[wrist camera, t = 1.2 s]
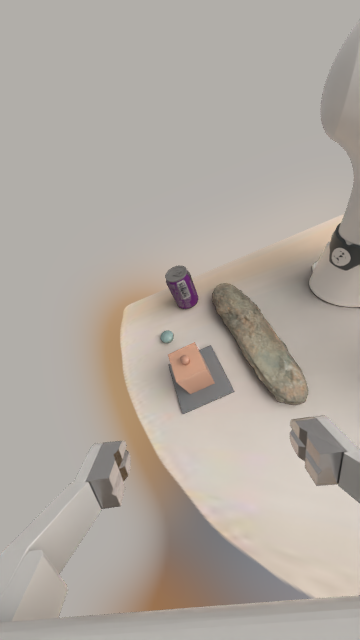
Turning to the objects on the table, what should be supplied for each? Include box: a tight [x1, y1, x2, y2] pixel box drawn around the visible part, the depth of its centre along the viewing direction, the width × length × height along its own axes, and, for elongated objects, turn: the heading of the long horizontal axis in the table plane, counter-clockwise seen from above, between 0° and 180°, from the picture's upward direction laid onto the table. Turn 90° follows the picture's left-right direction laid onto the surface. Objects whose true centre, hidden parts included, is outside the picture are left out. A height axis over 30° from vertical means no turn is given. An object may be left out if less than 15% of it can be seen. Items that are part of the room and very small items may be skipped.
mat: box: [169, 345, 234, 414], centre depth 40 cm, size 12×12×1 cm
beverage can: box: [165, 266, 198, 309], centre depth 51 cm, size 7×7×12 cm
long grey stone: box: [212, 283, 308, 405], centre depth 41 cm, size 35×5×10 cm
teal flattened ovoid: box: [161, 331, 173, 343], centre depth 49 cm, size 4×4×2 cm
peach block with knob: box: [168, 342, 215, 394], centre depth 36 cm, size 6×6×11 cm
